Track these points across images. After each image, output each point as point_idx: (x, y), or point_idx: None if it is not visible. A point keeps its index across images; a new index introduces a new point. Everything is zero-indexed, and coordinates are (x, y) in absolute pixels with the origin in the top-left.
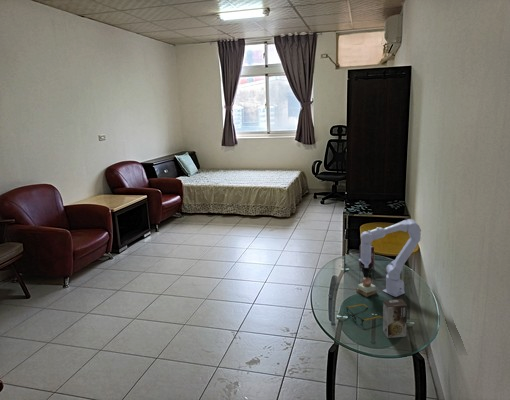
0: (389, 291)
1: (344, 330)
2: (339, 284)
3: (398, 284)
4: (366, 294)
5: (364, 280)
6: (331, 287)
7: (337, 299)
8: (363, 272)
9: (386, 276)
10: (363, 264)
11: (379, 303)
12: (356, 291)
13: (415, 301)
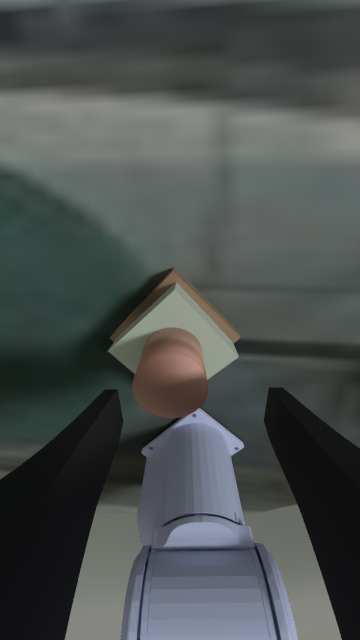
0: (169, 441)
1: None
2: (299, 118)
3: (141, 531)
4: (114, 332)
5: (139, 366)
6: (235, 22)
7: (12, 110)
8: (43, 450)
9: (203, 522)
10: (343, 511)
11: (57, 383)
12: (173, 268)
13: (120, 497)
